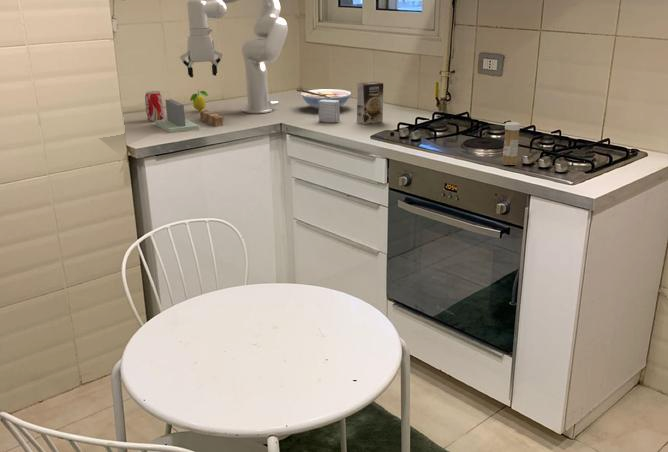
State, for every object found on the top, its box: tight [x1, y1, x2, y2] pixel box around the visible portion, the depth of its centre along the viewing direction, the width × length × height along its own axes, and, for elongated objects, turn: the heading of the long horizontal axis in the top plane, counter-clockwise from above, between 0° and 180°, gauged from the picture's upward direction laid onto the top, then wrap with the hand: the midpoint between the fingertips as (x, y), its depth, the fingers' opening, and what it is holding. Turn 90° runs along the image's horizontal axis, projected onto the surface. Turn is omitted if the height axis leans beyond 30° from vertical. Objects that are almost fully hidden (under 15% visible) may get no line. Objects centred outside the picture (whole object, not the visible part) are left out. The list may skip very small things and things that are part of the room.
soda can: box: [144, 90, 165, 122], centre depth 276 cm, size 7×7×12 cm
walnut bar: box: [199, 109, 224, 128], centre depth 272 cm, size 18×3×4 cm, turn 31°
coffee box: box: [356, 81, 384, 125], centre depth 267 cm, size 9×6×16 cm
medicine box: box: [318, 100, 341, 123], centre depth 271 cm, size 8×4×9 cm, turn 71°
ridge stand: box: [154, 99, 200, 134], centre depth 264 cm, size 12×19×10 cm, turn 32°
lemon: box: [189, 90, 209, 113], centre depth 294 cm, size 7×6×10 cm
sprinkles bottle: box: [501, 121, 521, 165], centre depth 204 cm, size 5×5×13 cm
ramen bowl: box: [296, 88, 351, 110], centre depth 297 cm, size 25×23×8 cm
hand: (203, 76), depth 266 cm, fingers open, 9 cm apart
